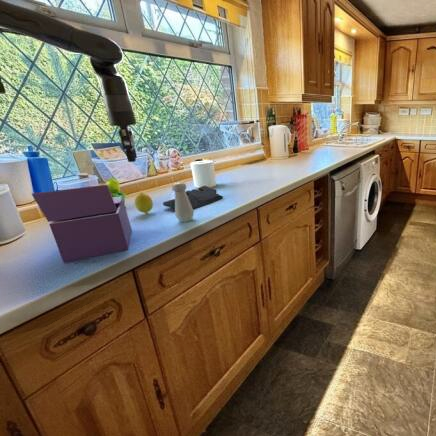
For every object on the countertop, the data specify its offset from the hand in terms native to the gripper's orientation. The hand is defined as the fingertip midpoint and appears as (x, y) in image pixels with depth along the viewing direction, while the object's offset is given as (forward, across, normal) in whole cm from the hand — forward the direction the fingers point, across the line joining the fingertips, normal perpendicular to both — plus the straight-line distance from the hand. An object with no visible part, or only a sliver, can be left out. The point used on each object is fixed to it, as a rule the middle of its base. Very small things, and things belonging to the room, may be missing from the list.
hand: (132, 160), depth 104 cm
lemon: (+20, -2, 0) cm, 20 cm away
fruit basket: (+20, -21, -12) cm, 32 cm away
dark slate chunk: (+20, -7, +17) cm, 27 cm away
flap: (+5, +34, -11) cm, 36 cm away
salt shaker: (+20, +15, +12) cm, 28 cm away
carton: (+20, +24, -11) cm, 33 cm away
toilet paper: (+20, -36, +26) cm, 49 cm away
